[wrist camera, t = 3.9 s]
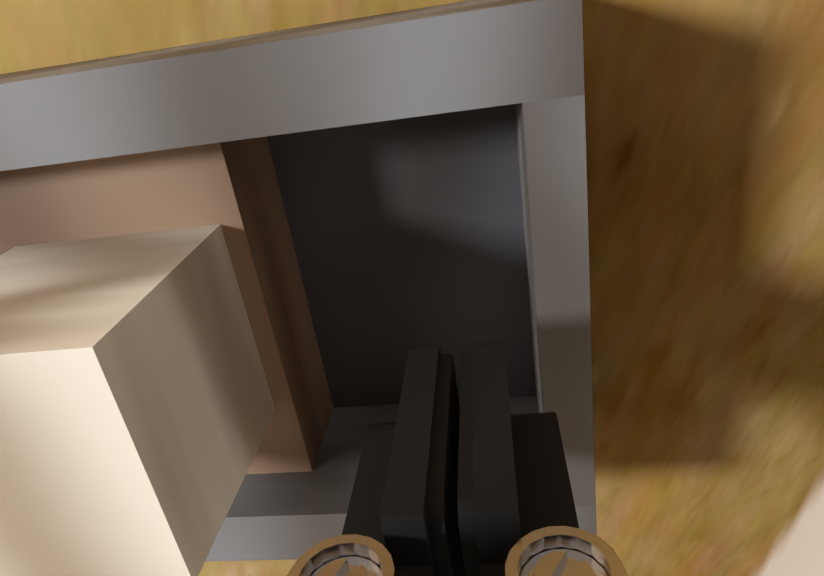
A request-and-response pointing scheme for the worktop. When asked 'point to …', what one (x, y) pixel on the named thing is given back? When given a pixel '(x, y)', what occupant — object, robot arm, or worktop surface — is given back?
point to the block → (123, 403)
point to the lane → (343, 218)
